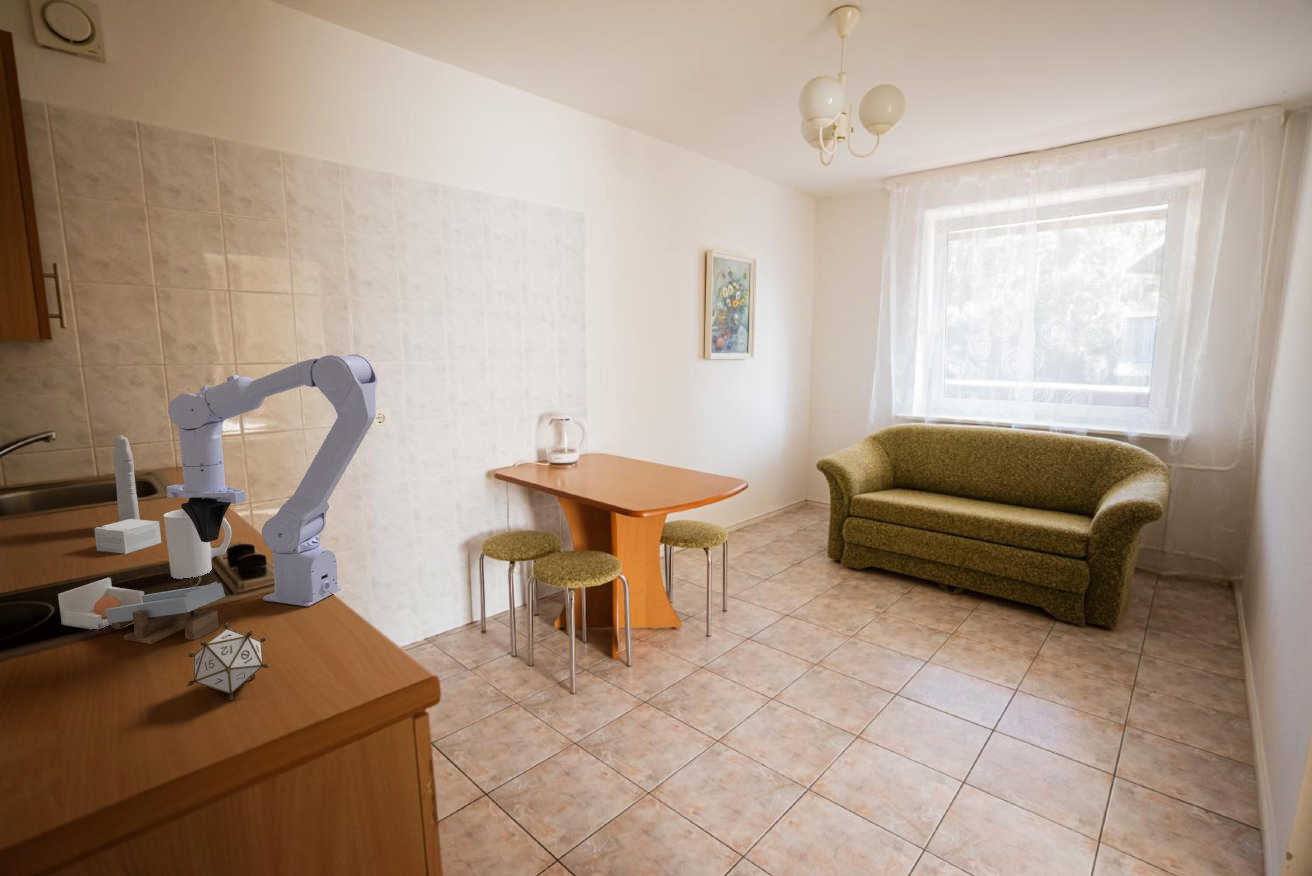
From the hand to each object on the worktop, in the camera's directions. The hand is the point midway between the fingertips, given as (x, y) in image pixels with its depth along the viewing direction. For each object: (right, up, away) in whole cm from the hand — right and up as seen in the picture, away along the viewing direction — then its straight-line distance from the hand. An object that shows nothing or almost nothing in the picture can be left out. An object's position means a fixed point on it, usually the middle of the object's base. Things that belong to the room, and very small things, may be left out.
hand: (209, 540), depth 105 cm
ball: (-9, -11, -9) cm, 17 cm away
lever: (+2, -8, -10) cm, 13 cm away
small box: (-35, -6, +25) cm, 44 cm away
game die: (+23, -15, -27) cm, 38 cm away
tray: (-11, -11, -8) cm, 17 cm away
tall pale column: (-46, -4, +37) cm, 59 cm away
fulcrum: (+2, -12, -11) cm, 16 cm away
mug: (-10, -8, +12) cm, 18 cm away
